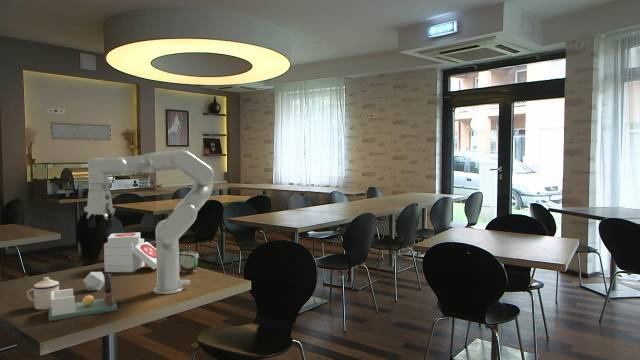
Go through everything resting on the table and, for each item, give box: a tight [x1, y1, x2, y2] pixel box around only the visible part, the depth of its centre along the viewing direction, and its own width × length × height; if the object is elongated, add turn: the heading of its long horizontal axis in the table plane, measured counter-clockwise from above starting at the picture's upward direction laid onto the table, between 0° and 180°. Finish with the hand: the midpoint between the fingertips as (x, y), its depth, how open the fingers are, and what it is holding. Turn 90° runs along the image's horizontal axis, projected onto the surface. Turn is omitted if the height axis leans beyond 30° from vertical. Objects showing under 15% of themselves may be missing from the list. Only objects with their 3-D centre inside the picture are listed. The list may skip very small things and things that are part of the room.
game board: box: [48, 288, 118, 322], centre depth 181 cm, size 23×14×8 cm, turn 120°
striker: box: [103, 273, 113, 306], centre depth 185 cm, size 2×10×11 cm, turn 30°
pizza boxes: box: [103, 231, 157, 273], centre depth 249 cm, size 19×30×18 cm, turn 87°
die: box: [82, 271, 105, 291], centre depth 209 cm, size 8×9×10 cm
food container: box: [179, 250, 200, 274], centre depth 242 cm, size 12×6×10 cm, turn 58°
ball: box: [82, 294, 95, 306], centre depth 182 cm, size 4×4×4 cm
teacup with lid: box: [26, 276, 61, 311], centre depth 186 cm, size 12×9×12 cm
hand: (99, 228), depth 196 cm, fingers open, 9 cm apart
